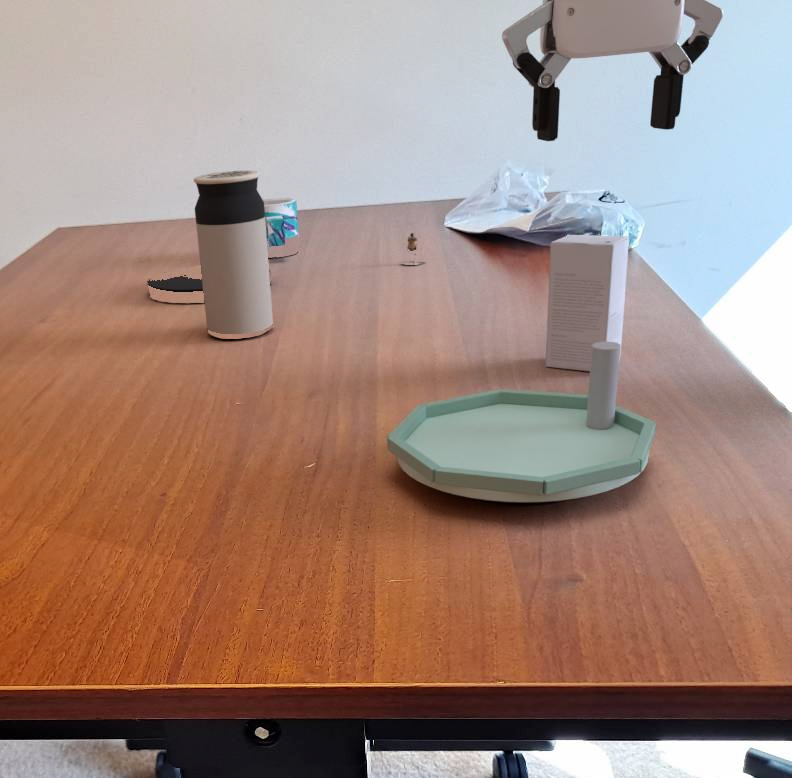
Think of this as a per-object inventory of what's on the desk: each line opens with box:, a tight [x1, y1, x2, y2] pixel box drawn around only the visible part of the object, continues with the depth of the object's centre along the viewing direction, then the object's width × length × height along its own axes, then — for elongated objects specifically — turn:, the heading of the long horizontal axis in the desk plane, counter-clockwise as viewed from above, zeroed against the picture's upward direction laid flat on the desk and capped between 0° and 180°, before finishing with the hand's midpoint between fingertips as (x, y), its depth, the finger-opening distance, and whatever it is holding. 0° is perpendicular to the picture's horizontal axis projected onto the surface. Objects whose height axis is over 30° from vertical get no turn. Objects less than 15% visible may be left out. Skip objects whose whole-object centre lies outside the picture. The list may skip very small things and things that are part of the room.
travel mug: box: [193, 170, 274, 334], centre depth 114 cm, size 8×8×18 cm
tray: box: [386, 342, 657, 502], centre depth 71 cm, size 18×18×7 cm
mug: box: [262, 197, 299, 247], centre depth 158 cm, size 8×12×8 cm
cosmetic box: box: [545, 234, 630, 372], centre depth 92 cm, size 6×4×12 cm
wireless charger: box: [146, 269, 271, 292], centre depth 141 cm, size 18×18×2 cm
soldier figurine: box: [406, 232, 418, 251], centre depth 144 cm, size 2×1×4 cm, turn 46°
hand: (604, 134), depth 81 cm, fingers open, 9 cm apart
